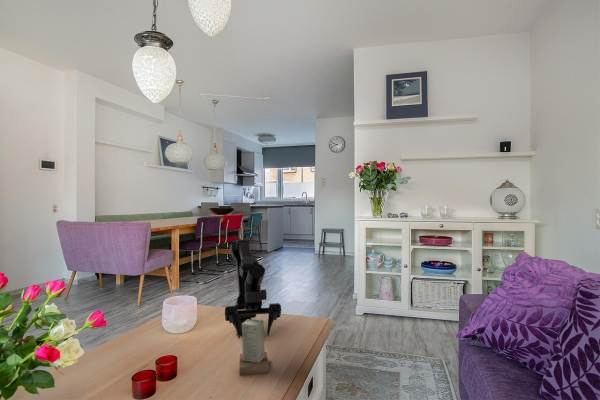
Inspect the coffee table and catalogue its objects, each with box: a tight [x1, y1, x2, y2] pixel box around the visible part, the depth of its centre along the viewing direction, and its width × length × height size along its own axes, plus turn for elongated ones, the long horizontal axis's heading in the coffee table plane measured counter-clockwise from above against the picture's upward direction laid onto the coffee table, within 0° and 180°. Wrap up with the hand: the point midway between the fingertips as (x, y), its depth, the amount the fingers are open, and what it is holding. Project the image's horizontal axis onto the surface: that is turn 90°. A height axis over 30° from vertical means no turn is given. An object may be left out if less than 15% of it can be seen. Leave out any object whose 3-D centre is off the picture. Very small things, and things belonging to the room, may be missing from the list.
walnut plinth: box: [239, 351, 270, 376], centre depth 105 cm, size 9×9×2 cm
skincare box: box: [241, 318, 266, 363], centre depth 105 cm, size 6×4×12 cm
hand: (253, 336), depth 104 cm, fingers open, 9 cm apart
